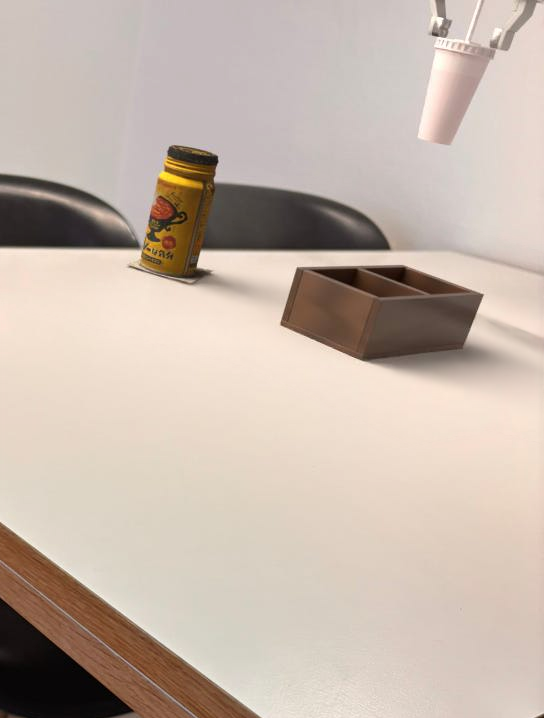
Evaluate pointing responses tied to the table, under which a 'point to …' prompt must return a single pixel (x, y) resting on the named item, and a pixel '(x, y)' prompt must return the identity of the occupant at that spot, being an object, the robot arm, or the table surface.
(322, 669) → the table surface
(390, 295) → the box
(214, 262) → the table surface
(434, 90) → the smoothie
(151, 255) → the condiment
